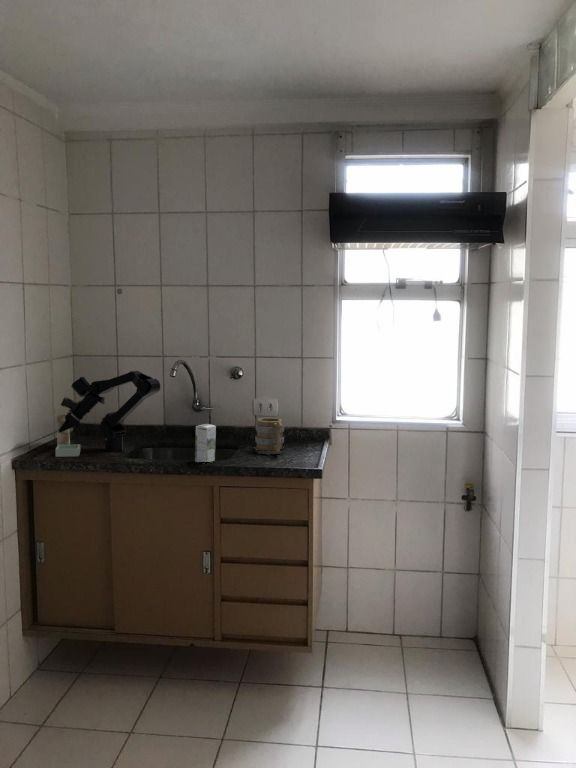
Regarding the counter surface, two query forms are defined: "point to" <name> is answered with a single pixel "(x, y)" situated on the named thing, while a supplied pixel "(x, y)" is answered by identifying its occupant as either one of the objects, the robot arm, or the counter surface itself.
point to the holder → (67, 450)
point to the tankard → (269, 434)
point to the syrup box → (205, 443)
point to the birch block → (64, 436)
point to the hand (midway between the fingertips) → (59, 430)
